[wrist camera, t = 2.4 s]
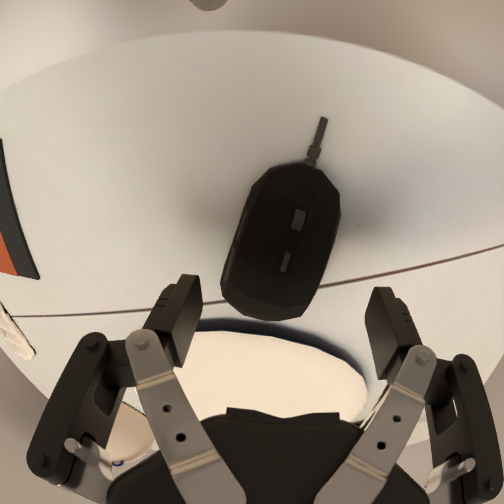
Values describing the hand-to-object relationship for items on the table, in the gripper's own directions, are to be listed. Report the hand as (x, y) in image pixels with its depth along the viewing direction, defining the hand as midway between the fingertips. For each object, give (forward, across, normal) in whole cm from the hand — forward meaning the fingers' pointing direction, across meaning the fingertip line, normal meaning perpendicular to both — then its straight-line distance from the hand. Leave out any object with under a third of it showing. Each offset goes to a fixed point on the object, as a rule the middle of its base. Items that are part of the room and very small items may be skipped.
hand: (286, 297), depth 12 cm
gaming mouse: (+7, 0, 0) cm, 7 cm away
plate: (+7, +3, +23) cm, 24 cm away
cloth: (+7, +50, +19) cm, 54 cm away
